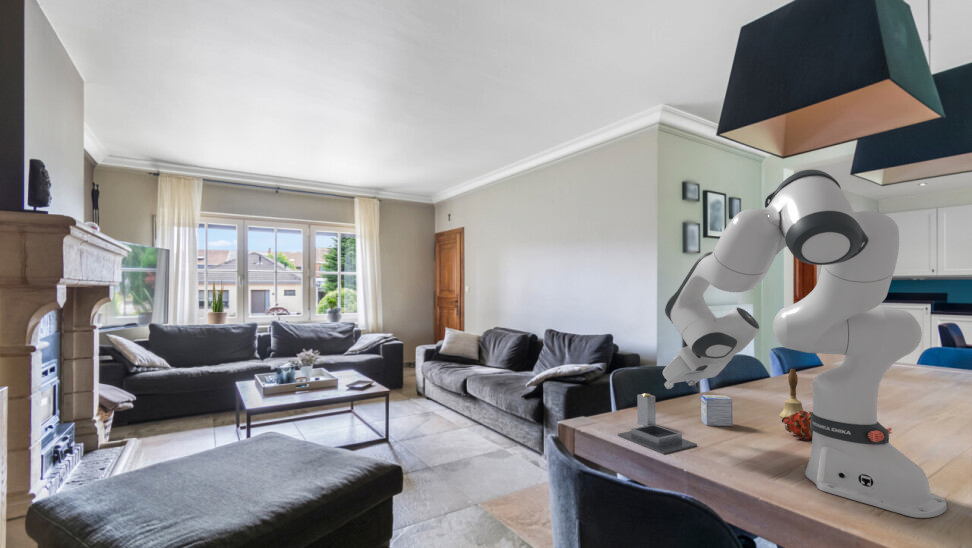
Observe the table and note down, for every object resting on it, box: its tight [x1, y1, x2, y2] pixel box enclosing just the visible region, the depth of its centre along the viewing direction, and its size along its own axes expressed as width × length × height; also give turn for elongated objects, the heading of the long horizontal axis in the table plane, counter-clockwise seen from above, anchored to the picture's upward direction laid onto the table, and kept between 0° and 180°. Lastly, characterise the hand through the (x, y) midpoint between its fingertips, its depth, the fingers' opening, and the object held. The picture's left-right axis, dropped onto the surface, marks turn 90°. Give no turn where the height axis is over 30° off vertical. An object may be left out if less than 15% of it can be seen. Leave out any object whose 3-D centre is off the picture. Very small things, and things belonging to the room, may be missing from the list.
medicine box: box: [700, 394, 734, 427], centre depth 139 cm, size 8×4×9 cm, turn 84°
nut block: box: [636, 392, 657, 426], centre depth 138 cm, size 4×4×9 cm
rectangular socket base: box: [617, 424, 698, 455], centre depth 123 cm, size 16×13×3 cm
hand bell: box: [778, 368, 804, 419], centre depth 147 cm, size 8×8×16 cm
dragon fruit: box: [781, 410, 813, 442], centre depth 126 cm, size 8×8×12 cm
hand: (678, 385), depth 128 cm, fingers open, 8 cm apart
